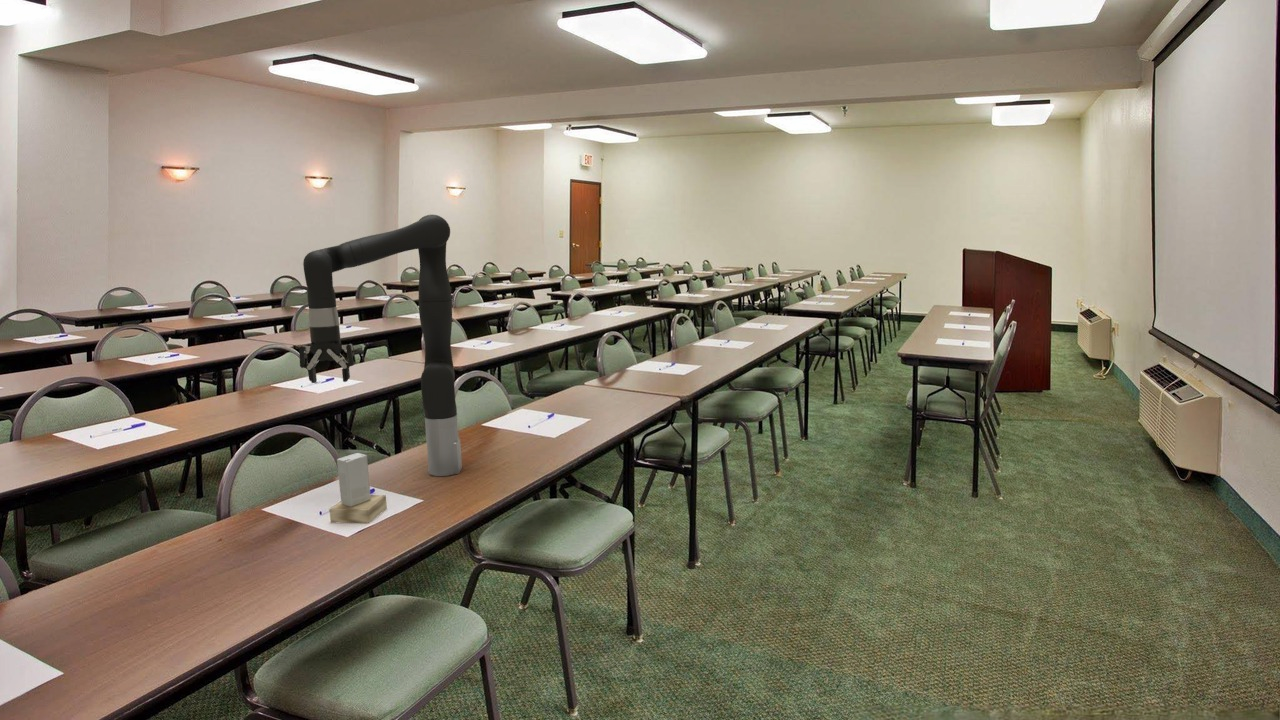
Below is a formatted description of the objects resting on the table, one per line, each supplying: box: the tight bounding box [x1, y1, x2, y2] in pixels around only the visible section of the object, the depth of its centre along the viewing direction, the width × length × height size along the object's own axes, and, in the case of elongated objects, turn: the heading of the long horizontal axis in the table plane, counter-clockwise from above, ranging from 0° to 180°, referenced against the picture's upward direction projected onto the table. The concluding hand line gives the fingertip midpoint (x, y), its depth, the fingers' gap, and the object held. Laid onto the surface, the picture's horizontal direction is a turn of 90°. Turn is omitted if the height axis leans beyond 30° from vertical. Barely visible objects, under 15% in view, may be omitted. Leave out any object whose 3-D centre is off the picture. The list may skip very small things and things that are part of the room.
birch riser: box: [328, 494, 388, 524], centre depth 186 cm, size 10×10×4 cm
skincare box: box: [336, 452, 372, 507], centre depth 184 cm, size 6×4×12 cm
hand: (329, 381), depth 203 cm, fingers open, 8 cm apart
